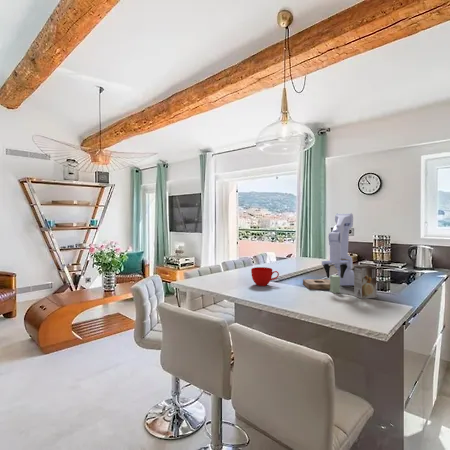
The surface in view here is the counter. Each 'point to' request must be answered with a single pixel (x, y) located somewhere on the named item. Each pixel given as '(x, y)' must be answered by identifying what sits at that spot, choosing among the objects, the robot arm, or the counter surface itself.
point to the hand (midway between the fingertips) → (334, 277)
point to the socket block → (317, 283)
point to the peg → (335, 283)
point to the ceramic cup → (262, 275)
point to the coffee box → (365, 282)
